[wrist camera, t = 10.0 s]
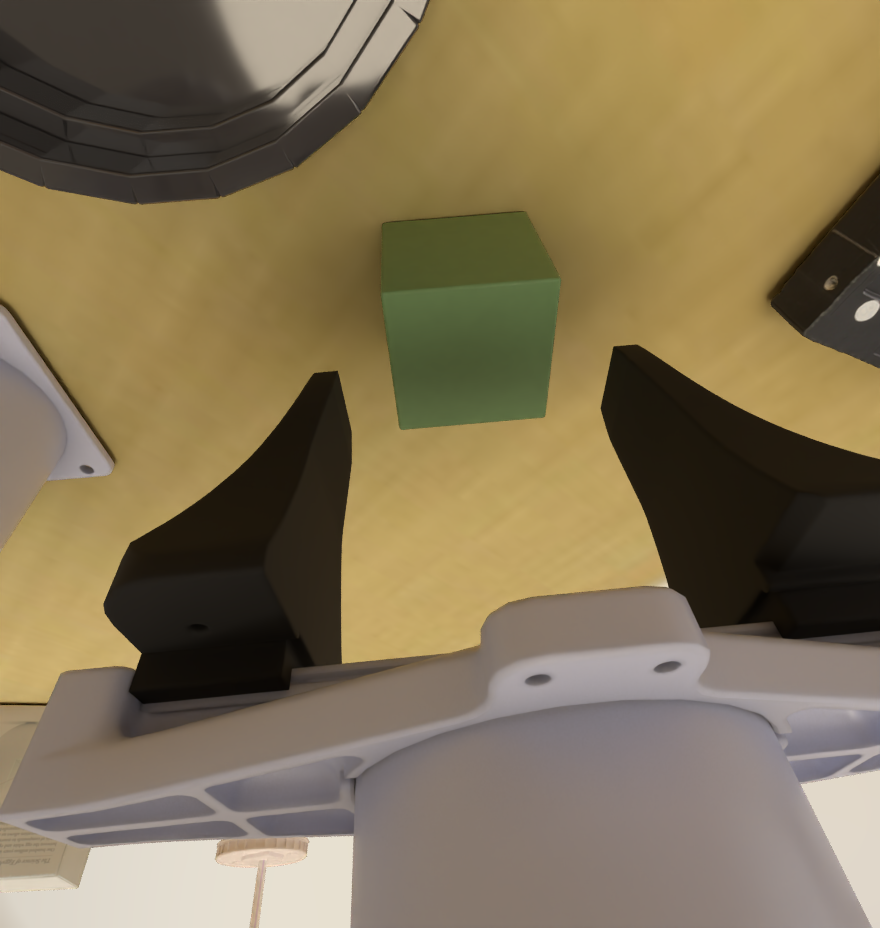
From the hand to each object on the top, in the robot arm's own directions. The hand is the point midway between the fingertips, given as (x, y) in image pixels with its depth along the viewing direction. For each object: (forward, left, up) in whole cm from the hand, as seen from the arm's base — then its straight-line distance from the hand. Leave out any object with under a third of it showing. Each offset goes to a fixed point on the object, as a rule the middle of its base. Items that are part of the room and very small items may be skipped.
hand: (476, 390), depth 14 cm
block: (0, 0, -6) cm, 6 cm away
